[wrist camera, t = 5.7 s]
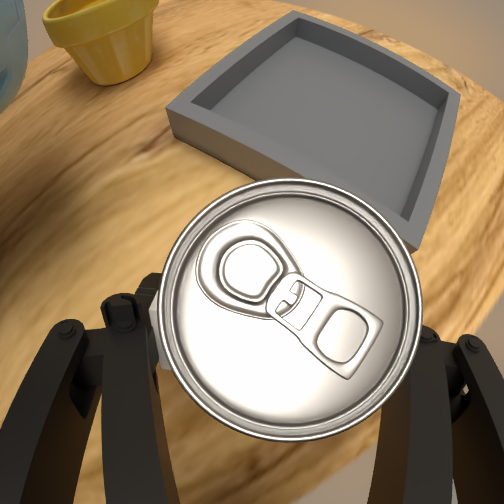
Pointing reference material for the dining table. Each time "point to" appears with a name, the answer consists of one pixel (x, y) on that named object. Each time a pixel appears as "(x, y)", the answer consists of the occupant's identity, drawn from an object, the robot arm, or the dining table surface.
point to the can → (289, 309)
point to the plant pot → (104, 36)
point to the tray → (326, 117)
